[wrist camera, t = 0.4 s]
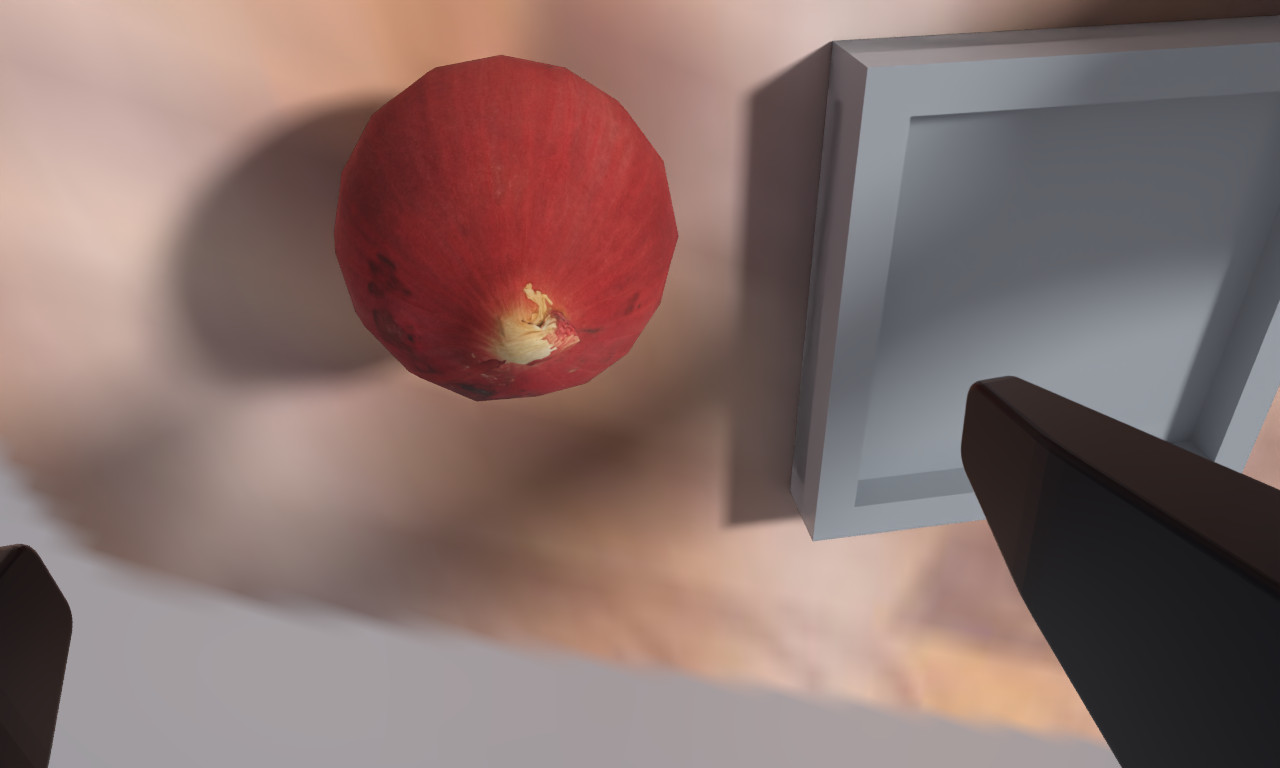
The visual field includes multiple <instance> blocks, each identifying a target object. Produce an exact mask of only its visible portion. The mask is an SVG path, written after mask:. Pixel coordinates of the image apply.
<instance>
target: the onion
mask: <svg viewBox="0 0 1280 768" xmlns="http://www.w3.org/2000/svg"><path fill="white" fill-rule="evenodd" d="M334 238H335V253H336V256H337V259H338V262H339V265H340V268H341V271H342V274H343V277H344V280H345V283H346V285H347V288H348V291H349V294H350V297H351V300H352V303H353V306H354V309H355V312H356V313H357V315H358V316H359V318H360V320H361V321H362V323H363V324H364V326H365V327H366V328H367V329H368V330H369V331H370V332H371V333H372V334H373V335H374V336H375V337H376V338H377V339H378V340H379V341H380V342H381V343H382V344H383V345H384V346H385V347H386V348H387V349H388V350H389V351H390V353H391V354H392V355H393V356H394V357H395V358H396V359H397V360H398V361H399V362H400V363H401V364H402V365H403V366H404V367H405V368H406V369H407V370H408V371H409V372H411V373H413V374H415V375H416V376H418V377H420V378H422V379H425V380H427V381H429V382H432V383H434V384H437V385H439V386H441V387H444V388H446V389H449V390H451V391H453V392H456V393H458V394H460V395H463V396H465V397H468V398H470V399H472V400H475V401H487V400H498V399H510V398H522V397H534V396H540V395H544V394H548V393H551V392H555V391H559V390H562V389H566V388H570V387H574V386H577V385H581V384H585V383H587V382H588V381H590V380H591V379H592V378H594V377H595V376H597V375H598V374H599V373H601V372H602V371H604V370H605V369H606V368H608V367H609V366H611V365H612V364H613V363H615V362H616V361H618V360H619V359H620V358H622V357H623V356H625V355H626V354H627V353H628V352H629V350H630V349H631V347H632V346H633V344H634V343H635V341H636V340H637V338H638V337H639V335H640V333H641V332H642V330H643V329H644V327H645V326H646V324H647V323H648V321H649V320H650V318H651V317H652V315H653V314H654V312H655V311H656V309H657V308H658V306H659V304H660V302H661V299H662V295H663V291H664V287H665V283H666V279H667V275H668V271H669V267H670V263H671V260H672V256H673V253H674V250H675V246H676V243H677V239H678V231H677V226H676V221H675V216H674V211H673V207H672V202H671V197H670V192H669V187H668V182H667V177H666V172H665V167H664V162H663V160H662V159H661V157H660V156H659V154H658V153H657V152H656V150H655V149H654V148H653V146H652V145H651V143H650V142H649V141H648V139H647V138H646V137H645V135H644V134H643V133H642V131H641V130H640V128H639V127H638V126H637V124H636V123H635V122H634V120H633V119H632V117H631V116H630V115H629V113H628V112H627V111H626V110H625V109H624V107H623V106H622V105H621V104H620V103H619V102H618V101H617V100H616V99H614V98H613V97H611V96H609V95H608V94H606V93H605V92H603V91H601V90H600V89H598V88H597V87H595V86H593V85H592V84H590V83H589V82H587V81H585V80H584V79H582V78H581V77H579V76H577V75H576V74H574V73H573V72H571V71H570V70H568V69H566V68H564V67H559V66H554V65H549V64H544V63H539V62H534V61H529V60H524V59H519V58H514V57H509V56H504V55H498V56H493V57H488V58H483V59H478V60H472V61H467V62H462V63H457V64H451V65H446V66H441V67H436V68H434V69H433V70H431V71H429V72H427V73H426V74H425V75H423V76H422V77H421V78H420V79H418V80H417V81H416V82H414V83H413V84H412V85H411V86H409V87H408V88H407V89H405V90H404V91H403V92H401V93H400V94H399V95H397V96H396V97H395V98H393V99H392V100H390V101H389V102H388V103H386V104H385V105H384V106H382V107H381V108H380V109H379V110H378V111H377V112H375V113H374V114H373V115H372V116H371V118H370V120H369V122H368V124H367V126H366V128H365V129H364V131H363V133H362V135H361V137H360V139H359V141H358V143H357V145H356V146H355V148H354V150H353V152H352V154H351V156H350V158H349V160H348V162H347V163H346V165H345V167H344V169H343V171H342V175H341V182H340V190H339V198H338V206H337V213H336V221H335V229H334Z"/></svg>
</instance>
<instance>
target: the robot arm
mask: <svg viewBox="0 0 1280 768" xmlns="http://www.w3.org/2000/svg"><path fill="white" fill-rule="evenodd" d="M961 458H962V463H963V467H964V470H965V472H966V475H967V477H968V479H969V482H970V484H971V486H972V488H973V491H974V493H975V495H976V497H977V500H978V502H979V504H980V506H981V509H982V511H983V513H984V515H985V518H986V520H987V522H988V524H989V527H990V529H991V531H992V533H993V536H994V538H995V540H996V542H997V545H998V547H999V549H1000V551H1001V554H1002V556H1003V558H1004V560H1005V563H1006V565H1007V567H1008V569H1009V572H1010V574H1011V576H1012V578H1013V580H1014V582H1015V584H1016V587H1017V589H1018V591H1019V593H1020V595H1021V597H1022V599H1023V600H1024V602H1025V604H1026V606H1027V608H1028V609H1029V611H1030V613H1031V615H1032V617H1033V618H1034V620H1035V622H1036V623H1037V625H1038V627H1039V628H1040V630H1041V632H1042V634H1043V635H1044V637H1045V639H1046V640H1047V642H1048V644H1049V645H1050V647H1051V649H1052V650H1053V652H1054V654H1055V656H1056V657H1057V659H1058V661H1059V662H1060V664H1061V666H1062V667H1063V669H1064V671H1065V672H1066V674H1067V676H1068V678H1069V679H1070V681H1071V683H1072V684H1073V686H1074V688H1075V689H1076V691H1077V693H1078V694H1079V696H1080V698H1081V700H1082V701H1083V703H1084V705H1085V706H1086V708H1087V710H1088V711H1089V713H1090V715H1091V716H1092V718H1093V720H1094V722H1095V723H1096V725H1097V727H1098V728H1099V730H1100V732H1101V733H1102V735H1103V737H1104V738H1105V740H1106V742H1107V744H1108V745H1109V747H1110V749H1111V750H1112V752H1113V754H1114V755H1115V757H1116V759H1117V760H1118V762H1119V764H1120V765H1121V767H1122V768H1280V490H1279V489H1276V488H1274V487H1272V486H1269V485H1267V484H1265V483H1262V482H1260V481H1258V480H1255V479H1253V478H1251V477H1248V476H1246V475H1244V474H1241V473H1239V472H1237V471H1234V470H1232V469H1230V468H1228V467H1225V466H1223V465H1221V464H1218V463H1216V462H1214V461H1211V460H1209V459H1207V458H1204V457H1202V456H1200V455H1197V454H1195V453H1193V452H1190V451H1188V450H1186V449H1183V448H1181V447H1179V446H1176V445H1174V444H1172V443H1169V442H1167V441H1165V440H1162V439H1160V438H1158V437H1155V436H1153V435H1151V434H1149V433H1146V432H1144V431H1142V430H1139V429H1137V428H1135V427H1132V426H1130V425H1128V424H1125V423H1123V422H1121V421H1118V420H1116V419H1114V418H1111V417H1109V416H1107V415H1104V414H1102V413H1100V412H1097V411H1095V410H1093V409H1090V408H1088V407H1086V406H1083V405H1081V404H1079V403H1077V402H1074V401H1072V400H1070V399H1067V398H1065V397H1063V396H1060V395H1058V394H1056V393H1053V392H1051V391H1049V390H1046V389H1044V388H1042V387H1039V386H1037V385H1035V384H1032V383H1030V382H1028V381H1025V380H1023V379H1021V378H1018V377H1015V376H1003V377H997V378H991V379H985V380H979V381H976V382H975V383H973V384H972V385H971V386H970V388H969V391H968V394H967V399H966V407H965V416H964V424H963V432H962V440H961ZM71 634H72V614H71V610H70V607H69V605H68V602H67V600H66V599H65V598H64V596H63V594H62V592H61V591H60V589H59V587H58V586H57V584H56V582H55V581H54V579H53V578H52V576H51V574H50V573H49V571H48V569H47V568H46V566H45V565H44V563H43V561H42V560H41V558H40V556H39V555H38V554H37V552H36V551H35V550H34V549H32V548H31V547H30V546H28V545H23V544H15V545H9V546H3V547H0V768H48V764H49V759H50V754H51V748H52V743H53V737H54V731H55V725H56V720H57V713H58V709H59V703H60V697H61V692H62V685H63V680H64V674H65V669H66V663H67V657H68V651H69V646H70V640H71Z"/></svg>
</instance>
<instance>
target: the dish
mask: <svg viewBox="0 0 1280 768" xmlns="http://www.w3.org/2000/svg"><path fill="white" fill-rule="evenodd" d="M1003 376H1015V377H1018V378H1021V379H1023V380H1025V381H1028V382H1030V383H1032V384H1035V385H1037V386H1039V387H1042V388H1044V389H1046V390H1049V391H1051V392H1053V393H1056V394H1058V395H1060V396H1063V397H1065V398H1067V399H1070V400H1072V401H1074V402H1077V403H1079V404H1081V405H1083V406H1086V407H1088V408H1090V409H1093V410H1095V411H1097V412H1100V413H1102V414H1104V415H1107V416H1109V417H1111V418H1114V419H1116V420H1118V421H1121V422H1123V423H1125V424H1128V425H1130V426H1132V427H1135V428H1137V429H1139V430H1142V431H1144V432H1146V433H1149V434H1151V435H1153V436H1155V437H1158V438H1160V439H1162V440H1165V441H1167V442H1169V443H1172V444H1174V445H1176V446H1179V447H1181V448H1183V449H1186V450H1188V451H1190V452H1193V453H1195V454H1197V455H1200V456H1202V457H1204V458H1207V459H1209V460H1211V461H1214V462H1216V463H1218V464H1221V465H1223V466H1225V467H1228V468H1230V469H1232V470H1234V471H1237V472H1239V473H1241V474H1242V472H1243V469H1244V467H1245V465H1246V462H1247V460H1248V458H1249V455H1250V453H1251V451H1252V448H1253V446H1254V444H1255V441H1256V439H1257V437H1258V434H1259V432H1260V430H1261V427H1262V425H1263V423H1264V420H1265V418H1266V416H1267V413H1268V411H1269V409H1270V406H1271V404H1272V401H1273V399H1274V397H1275V394H1276V392H1277V390H1278V387H1279V385H1280V15H1274V16H1256V17H1239V18H1222V19H1204V20H1187V21H1170V22H1153V23H1135V24H1118V25H1101V26H1083V27H1066V28H1049V29H1031V30H1014V31H997V32H979V33H962V34H945V35H928V36H910V37H893V38H876V39H858V40H841V41H833V44H832V54H831V65H830V76H829V86H828V97H827V107H826V118H825V128H824V139H823V149H822V160H821V170H820V181H819V192H818V202H817V213H816V223H815V234H814V244H813V255H812V265H811V276H810V287H809V297H808V308H807V318H806V329H805V339H804V350H803V360H802V371H801V382H800V392H799V403H798V413H797V424H796V434H795V445H794V455H793V466H792V476H791V487H790V493H791V495H792V497H793V499H794V502H795V504H796V506H797V508H798V510H799V512H800V515H801V517H802V519H803V521H804V523H805V525H806V528H807V530H808V532H809V534H810V536H811V539H812V541H819V540H827V539H835V538H843V537H851V536H858V535H866V534H874V533H882V532H890V531H898V530H906V529H913V528H921V527H929V526H937V525H945V524H953V523H961V522H968V521H976V520H984V519H986V518H985V515H984V513H983V511H982V509H981V506H980V504H979V502H978V500H977V497H976V495H975V493H974V491H973V488H972V486H971V484H970V482H969V479H968V477H967V475H966V472H965V470H964V467H963V463H962V458H961V440H962V432H963V424H964V416H965V407H966V399H967V394H968V391H969V388H970V386H971V385H972V384H973V383H975V382H976V381H979V380H985V379H991V378H997V377H1003Z"/></svg>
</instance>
